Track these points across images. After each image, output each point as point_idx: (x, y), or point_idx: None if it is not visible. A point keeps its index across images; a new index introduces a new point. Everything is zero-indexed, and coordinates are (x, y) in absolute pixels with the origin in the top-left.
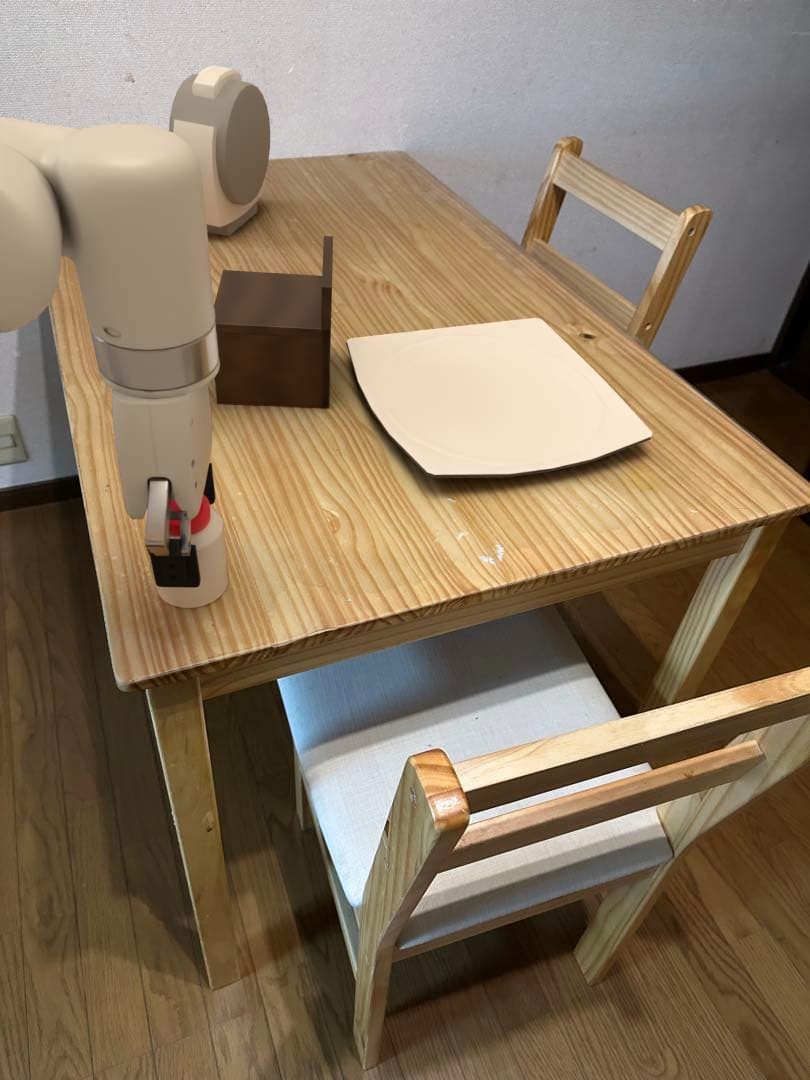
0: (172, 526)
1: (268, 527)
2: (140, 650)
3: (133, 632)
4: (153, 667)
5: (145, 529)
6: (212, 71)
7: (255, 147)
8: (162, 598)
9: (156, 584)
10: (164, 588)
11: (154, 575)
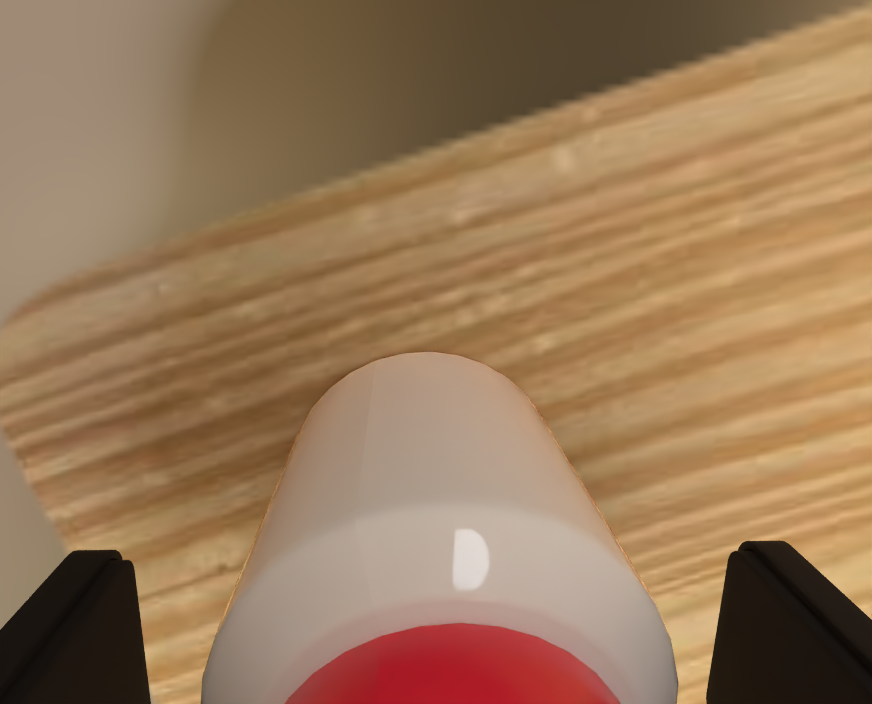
0: None
1: (690, 681)
2: (75, 349)
3: (158, 309)
4: (4, 406)
5: (392, 519)
6: None
7: None
8: (327, 391)
9: (71, 554)
10: (299, 440)
11: (26, 602)
